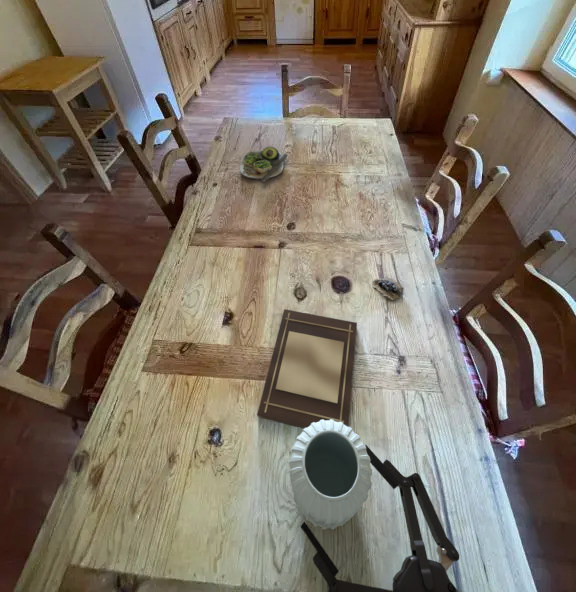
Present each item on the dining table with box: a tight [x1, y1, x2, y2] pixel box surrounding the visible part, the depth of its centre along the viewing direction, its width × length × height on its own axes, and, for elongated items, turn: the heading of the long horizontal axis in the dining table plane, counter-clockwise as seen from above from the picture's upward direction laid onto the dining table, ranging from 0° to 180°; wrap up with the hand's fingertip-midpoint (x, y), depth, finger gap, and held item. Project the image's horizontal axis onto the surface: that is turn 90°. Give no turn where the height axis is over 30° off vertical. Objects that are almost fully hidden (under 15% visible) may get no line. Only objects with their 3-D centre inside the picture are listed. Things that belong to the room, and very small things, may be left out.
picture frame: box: [256, 308, 358, 430], centre depth 76 cm, size 24×18×2 cm
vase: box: [289, 419, 373, 530], centre depth 54 cm, size 12×12×22 cm
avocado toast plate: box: [239, 146, 288, 183], centre depth 128 cm, size 19×18×5 cm
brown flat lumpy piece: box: [372, 277, 405, 301], centre depth 89 cm, size 7×8×2 cm
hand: (334, 483), depth 52 cm, fingers open, 13 cm apart
